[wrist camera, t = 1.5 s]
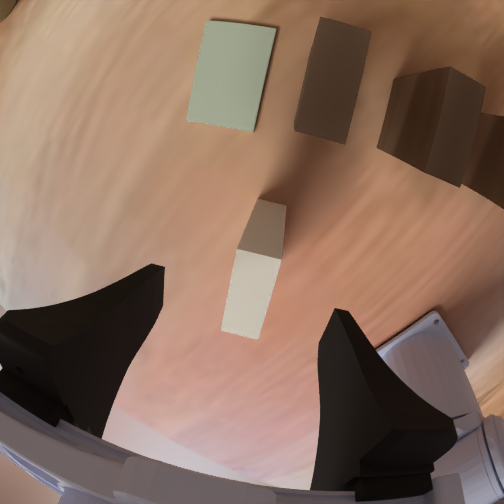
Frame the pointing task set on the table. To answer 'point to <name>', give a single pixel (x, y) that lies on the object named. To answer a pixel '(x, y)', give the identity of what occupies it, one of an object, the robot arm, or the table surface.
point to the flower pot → (6, 8)
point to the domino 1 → (255, 270)
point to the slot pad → (230, 74)
